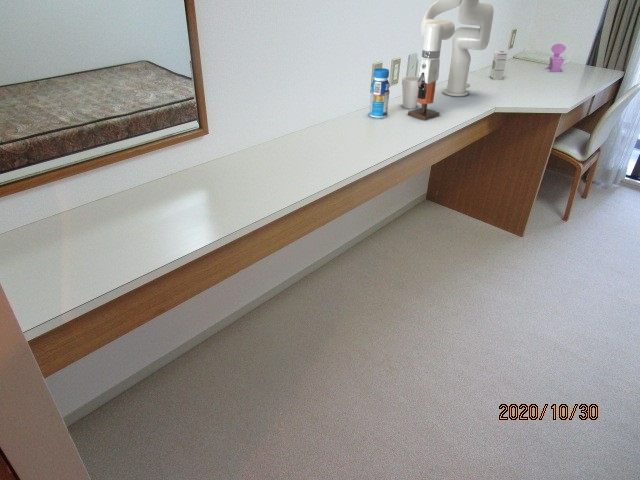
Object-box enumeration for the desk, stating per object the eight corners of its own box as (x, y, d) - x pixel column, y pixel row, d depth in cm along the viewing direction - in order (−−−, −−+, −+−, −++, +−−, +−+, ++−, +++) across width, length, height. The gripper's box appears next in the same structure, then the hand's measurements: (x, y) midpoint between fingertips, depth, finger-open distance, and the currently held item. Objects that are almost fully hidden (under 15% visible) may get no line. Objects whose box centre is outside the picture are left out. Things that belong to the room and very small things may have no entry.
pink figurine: (548, 71, 277) (555, 45, 269) (544, 68, 285) (551, 43, 277) (562, 72, 276) (569, 46, 268) (558, 69, 284) (565, 43, 275)
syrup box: (502, 79, 262) (508, 52, 254) (492, 79, 262) (497, 52, 254) (499, 76, 267) (504, 50, 259) (489, 76, 267) (494, 50, 259)
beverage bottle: (365, 113, 207) (368, 68, 196) (381, 111, 210) (385, 66, 199) (374, 119, 201) (377, 72, 190) (391, 116, 203) (395, 70, 193)
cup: (423, 98, 206) (426, 78, 201) (436, 101, 202) (439, 81, 197) (413, 101, 203) (415, 80, 198) (426, 104, 198) (428, 83, 193)
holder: (421, 110, 211) (425, 78, 203) (439, 115, 205) (443, 82, 197) (407, 114, 206) (411, 82, 198) (424, 120, 200) (429, 86, 192)
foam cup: (419, 110, 212) (422, 81, 205) (399, 108, 214) (401, 80, 207) (419, 104, 220) (422, 76, 213) (400, 103, 221) (402, 75, 214)
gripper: (428, 59, 184) (423, 102, 193) (448, 52, 195) (442, 93, 204) (412, 56, 188) (408, 99, 197) (432, 50, 199) (427, 91, 209)
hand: (425, 96), depth 201 cm, fingers closed on cup, 7 cm apart
